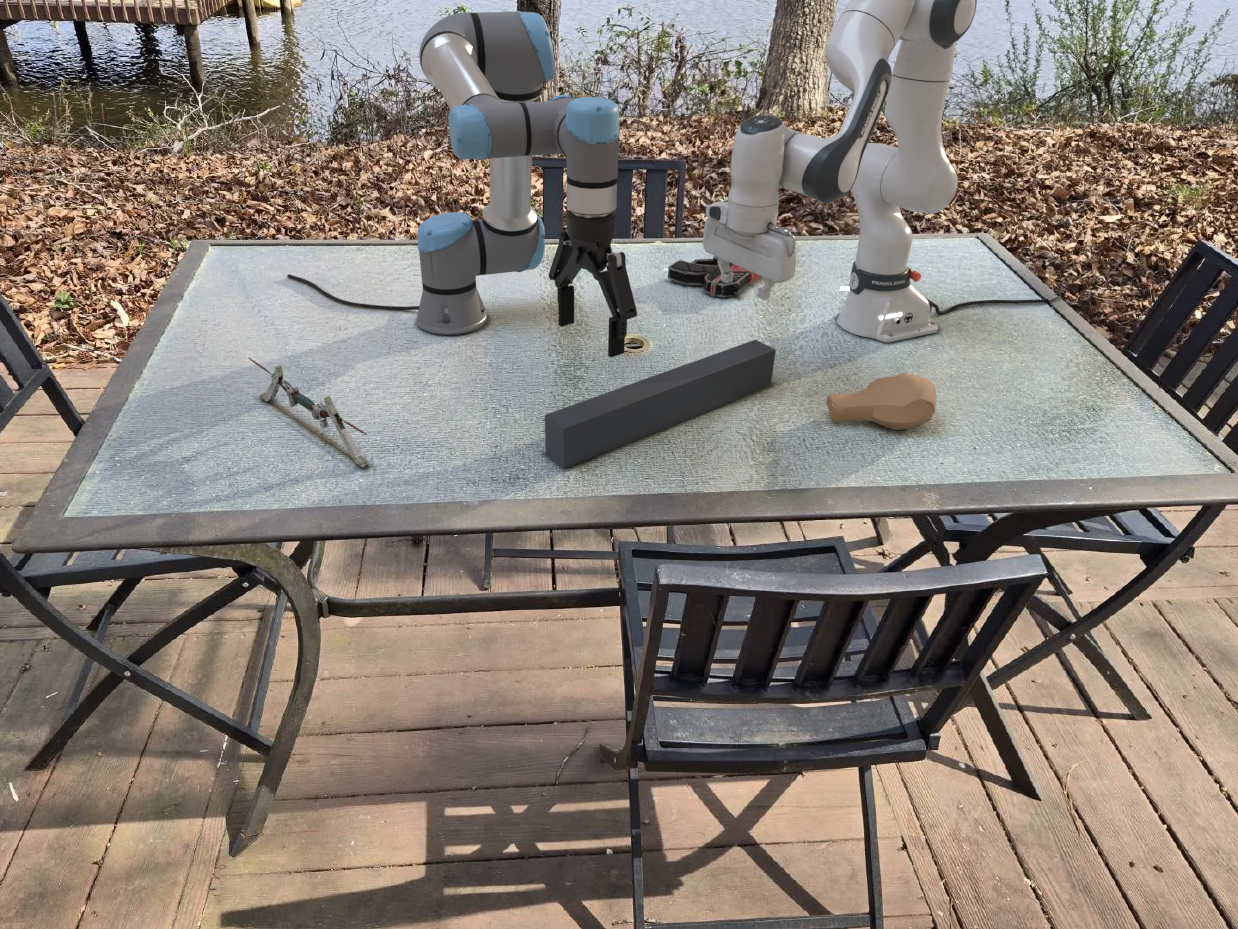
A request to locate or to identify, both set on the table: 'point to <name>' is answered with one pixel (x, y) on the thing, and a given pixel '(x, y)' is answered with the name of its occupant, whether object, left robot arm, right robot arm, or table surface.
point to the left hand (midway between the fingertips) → (590, 339)
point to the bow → (313, 411)
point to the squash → (888, 402)
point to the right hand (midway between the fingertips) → (744, 289)
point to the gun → (711, 276)
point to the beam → (656, 403)
